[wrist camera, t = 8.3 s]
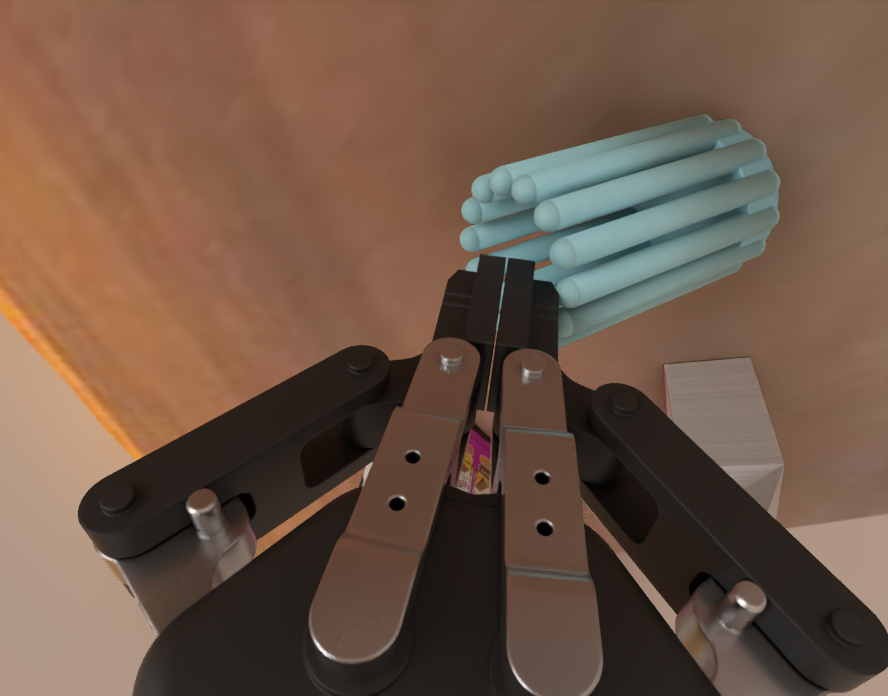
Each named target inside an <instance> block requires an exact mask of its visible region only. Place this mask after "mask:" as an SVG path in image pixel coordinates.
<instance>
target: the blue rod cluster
mask: <svg viewBox="0 0 888 696" xmlns="http://www.w3.org/2000/svg"><path fill="white" fill-rule="evenodd" d="M779 186H780V178H779V176H778V174H777V173H776V172H775V171H774V168H773V165H772V163H771V161H770V159H769V157H768V155H767V153H766V146H765V144H764V143H763V142H762V141H761V140H759V139H755V138H754V137H753V136H751V135H750V134H749V133H748V132H746V131H745V130H743V129H742V127H741V124H740V123H739V122H738V121H737V120H735V119H724V120H721V121H714V120H712V119H711V118H710V117H709V116H708V115H705V114H698V115H694V116H690V117H687V118H683V119H679V120H675V121H671V122H667V123H664V124H660V125H656V126H652V127H648V128H645V129H641V130H637V131H633V132H629V133H625V134H622V135H618V136H614V137H610V138H606V139H602V140H599V141H595V142H591V143H587V144H583V145H579V146H576V147H572V148H568V149H564V150H560V151H557V152H553V153H549V154H545V155H541V156H537V157H534V158H530V159H526V160H522V161H518V162H514V163H511V164H507V165H503V166H500V167H497V168H496V169H494V170H493V172H492V173H489V174H485V175H482V176H479V177H478V178H476V179H475V181H474V182H473V184H472V195H473V197H471V198H469V199H467V200H466V201H465V202H464V204H463V205H462V216H463V218H464V219H465V220H466V221H467V222H469V223H471V224H476V225H473V226H470V227H467V228H465V229H464V230H463V231H462V233H461V235H460V244H461V246H462V247H463V248H464V249H465V250H466V251H469V252H476V251H479V250H482V249H486V248H489V247H492V246H495V245H498V244H501V243H504V242H507V241H510V240H513V239H516V238H519V237H523V236H526V235H529V234H532V233H535V232H538V231H541V230H542V231H544V232H553V233H550V234H547V235H544V236H541V237H538V238H535V239H532V240H529V241H526V242H523V243H520V244H517V245H514V246H511V247H508V248H505V249H502V250H499V251H496V252H493V253H489V254H486V255H492V256H500V257H506V263H505V271H504V275H505V274H506V271H507V264H508V258H516V259H524V260H531V261H535V264H536V263H539V262H542V261H544V260H547V259H550V260H551V262H552V263H553V264H552V265H550V266H547V267H544V268H541V269H538V270H535V271H534V280H541V281H549V282H552V284H553V285H554V287H555V289H556V290H557V292H558V294H559V319H558V321H559V322H558V348H561V347H563V346H565V345H568V344H570V343H572V342H575V341H577V340H579V339H582V338H584V337H586V336H589V335H591V334H593V333H596V332H598V331H600V330H603V329H605V328H607V327H610V326H612V325H614V324H617V323H619V322H621V321H624V320H626V319H628V318H631V317H633V316H635V315H638V314H640V313H642V312H645V311H647V310H649V309H652V308H654V307H656V306H659V305H661V304H663V303H666V302H668V301H670V300H673V299H675V298H677V297H679V296H682V295H684V294H686V293H689V292H691V291H693V290H696V289H698V288H700V287H703V286H705V285H707V284H710V283H712V282H714V281H717V280H719V279H721V278H724V277H726V276H728V275H731V274H733V273H735V272H737V271H738V270H739V269H740V268H741V266H742V263H744V262H746V261H748V260H751V259H753V258H755V257H758V256H759V255H761V254H762V253H763V251H764V249H765V246H766V243H765V240H766V239H767V237H768V235H769V234H770V232H771V230H772V228H773V227H775V226H776V225H777V223H778V221H779V218H780V214H779V211H778V188H779ZM534 206H536V207H534ZM531 207H533V208H531ZM528 208H529V209H528ZM624 208H626V209H624ZM525 209H526V210H525ZM621 209H623V210H621ZM521 210H523V211H521ZM618 210H620V211H618ZM518 211H519V212H518ZM615 211H617V212H615ZM515 212H516V213H515ZM612 212H614V213H612ZM511 213H513V214H511ZM609 213H611V214H609ZM508 214H509V215H508ZM606 214H608V215H606ZM505 215H506V216H505ZM603 215H605V216H603ZM501 216H503V217H501ZM600 216H602V217H600ZM498 217H500V218H498ZM597 217H599V218H597ZM495 218H496V219H495ZM594 218H596V219H594ZM492 219H493V220H492ZM591 219H593V220H591ZM488 220H490V221H488ZM588 220H590V221H588ZM485 221H486V222H485ZM585 221H587V222H585ZM482 222H483V223H482ZM582 222H584V223H582ZM478 223H480V224H478ZM579 223H581V224H579ZM576 224H578V225H576ZM573 225H575V226H573ZM570 226H571V227H570ZM567 227H568V228H567ZM563 228H565V229H563ZM560 229H562V230H560ZM557 230H559V231H557ZM554 231H556V232H554ZM478 262H479V257H477V258H474V259H472V260H471V261H469V263H468V264H467V266H466V271H473V272H477V267H478ZM504 284H505V282H503V285H502V292H501V299H500V306H499V310H500V309H501V304H502V297H503V290H504ZM499 317H500V314H498V320H497V327H496V330H497V332H498V325H499Z"/></svg>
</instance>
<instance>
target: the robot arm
mask: <svg viewBox="0 0 888 696" xmlns="http://www.w3.org/2000/svg"><path fill="white" fill-rule="evenodd" d="M505 263H506V257H500V256H492V255H485V254H480V257H479V262H478V267H477V272H473V271H466V270H458V271H457V272H456V273H455V274H454V275H453V276H452V277H451V278H449V279H448V282H447V286H446V290H445V295H444V298H443V302H442V306H441V310H440V314H439V317H438V321H437V325H436V329H435V333H434V337H433V341H432V342H431V343H430V344H428V345H427V346H426V348H425V349H424V351H423V353H422V354H420V355H418V356H415V357H413V358H409V359H402V360H392V361H389V359H388V357H387V356H386V354H385V353H384V352H382V351H381V350H379V349H377V348H375V347H372V346H366V345H357V346H351V347H348V348H346V349H343V350H341V351H339V352H338V353H336V354H334V355H332V356H330V357H328V358H326V359H325V360H323V361H321V362H319V363H317V364H315V365H313V366H312V367H310V368H308V369H306V370H304V371H302V372H300V373H299V374H297V375H295V376H293V377H291V378H289V379H287V380H286V381H284V382H282V383H280V384H278V385H276V386H274V387H273V388H271V389H269V390H267V391H265V392H263V393H261V394H259V395H258V396H256V397H254V398H252V399H250V400H248V401H246V402H245V403H243V404H241V405H239V406H237V407H235V408H233V409H232V410H230V411H228V412H226V413H224V414H222V415H220V416H219V417H217V418H215V419H213V420H211V421H209V422H207V423H206V424H204V425H202V426H200V427H198V428H196V429H194V430H193V431H191V432H189V433H187V434H185V435H183V436H181V437H179V438H178V439H176V440H174V441H172V442H170V443H168V444H166V445H165V446H163V447H161V448H159V449H157V450H155V451H153V452H152V453H150V454H148V455H146V456H144V457H142V458H140V459H139V460H137V461H135V462H133V463H131V464H129V465H127V466H126V467H124V468H122V469H120V470H118V471H116V472H114V473H113V474H111V475H109V476H107V477H105V478H104V479H102V480H100V481H99V482H97V483H96V484H95V485H94V486H93V487H91V488H90V490H88V492H87V493H86V494H85V496H84V497H83V499H82V500H81V503H80V505H79V509H78V519H79V522H80V524H81V526H82V527H83V529H84V530H85V532H86V533H87V534H88V536H89V537H90V539H91V540H92V541H93V544H94V547H95V549H96V551H97V552H98V554H99V555H100V557H101V558H102V559H103V561H104V562H105V563H106V565H107V566H108V568H109V569H110V570H111V572H112V573H113V574H114V576H115V577H116V578H117V579H118V580H119V581H120V582H122V583H123V584H124V586H125V587H126V588H127V590H128V591H129V593H130V594H131V595H132V596H133V597H134V598H135V599H136V601H137V603H138V605H139V606H140V608H141V610H142V612H143V613H144V615H145V617H146V619H147V621H148V623H149V624H150V626H151V628H152V630H153V632H154V633H155V635H156V637H157V638H156V639H155V641H154V642H153V644H152V645H151V647H150V648H149V650H148V652H147V653H146V655H145V657H144V659H143V661H142V663H141V666H140V668H139V671H138V674H137V677H136V681H135V684H134V689H133V695H132V696H844V695H845V694H847V693H848V692H850V691H852V690H853V689H855V688H857V687H858V686H860V685H861V684H863V683H865V682H866V681H868V680H870V679H871V678H873V677H874V676H876V675H877V674H879V673H881V672H882V671H884V670H885V669H886V668H887V667H888V633H887V632H886V629H885V628H884V626H883V625H882V623H881V622H880V620H879V619H878V618H877V617H876V615H875V614H874V613H873V612H872V611H871V610H870V609H869V608H868V607H867V606H866V605H865V604H863V602H861V601H860V600H859V599H858V598H857V597H856V596H855V595H854V594H853V593H852V592H851V591H850V590H849V589H848V588H847V587H846V586H845V585H844V584H843V583H842V582H841V581H839V580H838V579H837V578H836V577H835V576H834V575H833V574H832V573H831V572H830V571H829V570H828V569H827V568H826V567H825V566H824V565H823V564H822V563H821V562H819V560H818V559H816V558H815V557H814V556H813V555H812V554H811V553H810V552H809V551H808V550H807V549H806V548H805V547H804V546H803V545H802V544H801V543H800V542H799V541H798V540H797V539H795V538H794V537H793V536H792V535H791V534H790V533H789V532H788V531H787V530H786V529H785V528H784V527H783V526H782V525H781V524H780V523H779V522H778V521H777V520H776V519H775V518H773V517H772V516H771V515H770V514H769V513H768V512H767V511H766V510H765V509H764V508H763V507H762V506H761V505H760V504H759V503H758V502H757V501H756V500H755V499H754V498H752V497H751V496H750V495H749V494H748V493H747V492H746V491H745V490H744V489H743V488H742V487H741V486H740V485H739V484H738V483H737V482H736V481H735V480H734V479H733V478H732V477H730V476H729V475H728V474H727V473H726V472H725V471H724V470H723V469H722V468H721V467H720V466H719V465H718V464H717V463H716V462H715V461H714V460H713V459H712V458H711V457H710V456H708V455H707V454H706V453H705V452H704V451H703V450H702V449H701V448H700V447H699V446H698V445H697V444H696V443H695V442H694V441H693V440H692V439H691V438H690V437H689V436H687V435H686V434H685V433H684V432H683V431H682V430H681V429H680V428H679V427H678V426H677V425H676V424H675V423H674V422H673V421H672V420H671V419H670V418H669V417H668V416H667V415H665V414H664V413H663V412H662V411H661V410H660V409H659V408H658V407H657V406H656V405H655V404H654V403H653V402H652V401H651V400H650V399H649V398H648V397H647V396H646V395H644V394H643V393H642V392H641V391H639V390H637V389H636V388H633V387H631V386H628V385H625V384H619V383H610V384H605V385H602V386H601V387H599V388H597V389H596V390H595V391H594V390H591V389H589V388H587V387H584V386H582V385H580V384H577V383H576V382H574V381H572V380H571V379H570V378H568V377H567V376H566V375H565V374H564V373H563V371H562V370H561V368H560V365H559V363H558V322H559V321H558V319H559V294H558V292H557V290H556V289H555V287H554V285H553V284H552V282H549V281H541V280H534V267H535V261H531V260H524V259H516V258H508V264H507V271H506V277H505V284H504V290H503V297H502V304H501V311H500V317H499V325H498V332H497V339H496V346H495V354H494V361H493V368H492V376H491V383H490V390H489V397H488V405H487V411H490V412H494V420H493V427H492V433H491V445H490V479H489V494H470V493H467V492H465V491H463V490H460V489H458V488H457V485H458V481H459V477H460V473H461V469H462V466H463V462H464V458H465V454H466V450H467V446H468V442H469V438H470V434H471V429H472V427H473V425H474V422H475V417H476V410H483V411H484V409H485V402H486V395H487V389H488V382H489V375H490V369H491V362H492V355H493V348H494V342H495V334H496V327H497V320H498V313H499V306H500V299H501V292H502V285H503V278H504V271H505ZM371 462H373V463H372V466H371V468H370V471H369V473H368V476H367V478H366V481H365V483H364V486H362V487H359V488H356V489H353V490H351V491H349V492H346V493H344V494H343V495H341V496H339V497H337V498H336V499H334V500H333V501H331V502H330V503H329V504H327V505H326V506H325V507H323V508H322V509H320V510H319V511H318V512H316V513H315V514H314V515H312V516H311V517H310V518H308V519H307V520H306V521H304V522H303V523H302V524H300V525H299V526H298V527H296V528H295V529H294V530H292V531H291V532H290V533H288V534H287V535H285V536H284V537H283V538H281V539H280V540H279V541H277V542H276V543H275V544H273V545H272V546H271V547H269V548H268V549H267V550H265V551H264V552H263V553H261V554H260V555H259V556H257V557H256V558H254V559H253V557H254V555H255V552H256V547H257V540H258V539H260V538H261V537H263V536H264V535H266V534H267V533H268V532H270V531H271V530H273V529H274V528H276V527H277V526H279V525H280V524H282V523H283V522H285V521H286V520H288V519H289V518H291V517H292V516H293V515H295V514H296V513H298V512H299V511H301V510H302V509H304V508H305V507H307V506H308V505H310V504H311V503H313V502H314V501H315V500H317V499H318V498H320V497H321V496H323V495H324V494H326V493H327V492H329V491H330V490H332V489H333V488H335V487H336V486H337V485H339V484H340V483H342V482H343V481H345V480H346V479H348V478H349V477H351V476H352V475H354V474H355V473H357V472H358V471H360V470H361V469H362V468H364V467H365V466H367V465H368V464H370V463H371ZM581 497H582V499H583V500H584V501H585V502H586V504H587V505H588V506H589V507H590V509H591V510H592V511H593V512H594V513H595V515H596V516H597V517H598V518H599V520H600V521H601V522H602V523H603V524H604V526H605V527H606V528H607V529H608V531H609V532H610V533H611V534H612V536H613V537H614V538H615V539H616V540H617V542H618V543H619V544H620V545H621V547H622V548H623V549H624V550H625V551H626V553H627V554H628V555H629V556H630V558H631V559H632V560H633V561H634V562H635V564H636V565H637V566H638V567H639V569H640V570H641V571H642V572H643V574H644V575H645V576H646V577H647V578H648V580H649V581H650V582H651V583H652V585H653V586H654V587H655V588H656V590H657V591H658V592H659V593H660V594H661V596H662V597H663V598H664V599H665V601H666V602H667V603H668V604H669V605H670V607H671V608H672V609H673V610H674V612H675V613H676V614H677V617H676V622H675V630H676V634H675V633H674V632H673V630H672V629H671V628H670V626H669V625H668V624H667V622H666V621H665V620H664V618H663V617H662V616H661V614H660V613H659V612H658V610H657V609H656V608H655V606H654V605H653V604H652V602H651V601H650V600H649V598H648V597H647V596H646V594H645V593H644V592H643V590H642V589H641V588H640V586H639V585H638V584H637V582H636V581H635V580H634V578H633V577H632V576H631V574H630V573H629V572H628V570H627V569H626V568H625V566H624V565H623V564H622V562H621V561H620V560H619V558H618V557H617V556H616V554H615V553H614V552H613V550H612V549H611V548H610V547H609V545H608V544H607V543H606V542H605V541H604V540H603V539H602V538H601V537H600V536H599V535H598V534H597V533H596V532H595V531H594V530H592V529H591V528H590V527H589V526H587V525H586V524H584V521H583V511H582V501H581ZM252 559H253V560H252Z"/></svg>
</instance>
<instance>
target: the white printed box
mask: <svg viewBox="0 0 888 696" xmlns="http://www.w3.org/2000/svg"><path fill="white" fill-rule="evenodd" d="M664 377H665V397H666V415H667V416H668V417H669V418H670V419H671V420H672V421H673V422H674V423H675V424H676V425H677V426H678V427H679V428H680V429H681V430H682V431H683V432H684V433H685V434H686V435H687V436H689V437H690V438H691V439H692V440H693V441H694V442H695V443H696V444H697V445H698V446H699V447H700V448H701V449H702V450H703V451H704V452H705V453H706V454H707V455H708V456H710V457H711V458H712V459H713V460H714V461H715V462H716V463H717V464H718V465H719V466H720V467H721V468H722V469H723V470H724V471H725V472H726V473H727V474H728V475H729V476H730V477H732V478H733V479H734V480H735V481H736V482H737V483H738V484H739V485H740V486H741V487H742V488H743V489H744V490H745V491H746V492H747V493H748V494H749V495H750V496H751V497H752V498H754V499H755V500H756V501H757V502H758V503H759V504H760V505H761V506H762V507H763V508H764V509H765V510H766V511H767V512H768V513H769V514H770V515H771V516H772V517H773V518H775V519H776V516H777V510H778V503H779V497H780V491H781V484H782V478H783V471H784V465H785V464H784V461H783V458H782V455H781V451H780V448H779V445H778V442H777V439H776V436H775V433H774V430H773V427H772V423H771V420H770V417H769V414H768V411H767V408H766V405H765V402H764V398H763V395H762V392H761V389H760V386H759V383H758V380H757V377H756V373H755V370H754V367H753V364H752V361H751V358H750V357H747V358H735V359H723V360H711V361H699V362H687V363H675V364H664Z"/></svg>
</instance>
